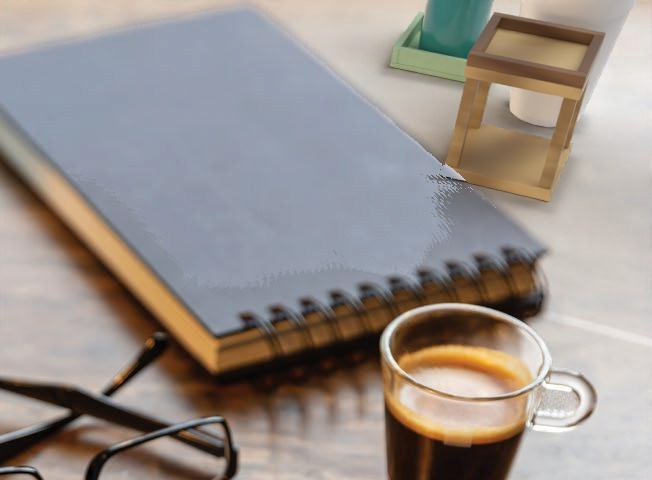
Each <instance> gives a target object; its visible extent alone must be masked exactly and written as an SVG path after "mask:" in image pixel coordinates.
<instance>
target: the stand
mask: <svg viewBox="0 0 652 480" xmlns="http://www.w3.org/2000/svg"><path fill="white" fill-rule="evenodd" d="M605 35H606V33H604V32H599V31H594V30H588V29H583V28H578V27H572V26H567V25H562V24H556V23H551V22H546V21H540V20H535V19H530V18H524V17H519V15H513V14H508V13H502V12H497V11H494V12H493V13H492V14H491V16H490V19H489V22H488V23H487V25H486V26H485V28H484V30H483V31H482V33H481V35H480V36H479V38H478V39H477V41H476V43H475V44H474V46H473V48H472V49H471V51H470V52H469V54H468V59H467V63H466V67H465V72H464V77H466V80H465V82H464V85H463V89H462V94H461V98H460V101H459V107H458V111H457V115H456V119H455V123H454V127H453V133H452V137H451V141H450V146H449V149H448V154H447V157H446V159H445V161H444V163H446V164H447V165H448V166H450V167H451V168H453V169H454V170H455V171H456V172H457V173H459V174H460V175H461V176H462V177H463V178H464V179H465V180H466V181H467V182H468V184H471V185H477V186H481V187H485V188H488V189H494V190H498V191H503V192H506V193H510V194H515V195H519V196H524V197H527V198H532V199H536V200H540V201H545V202H550V201H551V199H552V196H553V194H554V192H555V189H556V187H557V185H558V182H559V180H560V178H561V175H562V173H563V170H564V168H565V167H566V164H567V161H568V159H569V157H570V154H571V152H572V148H573V144H574V143H572V140H573V136H574V132H575V128H576V125H577V123H578V122H577V119H578V116H579V112H580V109H581V106H582V102H583V99H584V96H585V92H586V89H587V86H588V82H589V79H590V76H591V73H592V71H593V68H594V66H595V64H596V62H597V59H598V57H599V55H600V52H601V48H602V44H603V42H604V38H605ZM492 84H498V85H503V86H506V87H510V88H511V87H516V88H521V89H526V90H530V91H535V92H540V93H545V94H550V95H555V96H560V97H564V98H563V101H562V105H561V108H560V112H559V115H558V119H557V122H556V126H555V127H554V128H553V129H554V130H553V133H552V136H551V138H549V137H544V136H540V135H537V134H536V135H535V134H531V133H527V132H523V131H522V132H521V131H517V130H513V129H508V128H503V127H499V126H496V125H495V126H494V125H489V124H486V123H483V120H484V115H485V111H486V107H487V104H488V99H489V95H490V91H491V88H492V87H491V86H492ZM467 182H466V183H467Z"/></svg>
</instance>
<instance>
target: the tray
mask: <svg viewBox="0 0 652 480" xmlns="http://www.w3.org/2000/svg"><path fill="white" fill-rule="evenodd" d="M424 13H425V12H421V11H418V13H417V14H415V15H416V16H415V17H414V18H413V20H412V21H411V22H410V24H409V25H408V27H407V28H406V30H405V31H404V32H403V33H402V34H401V36H400V38H399V39H398V41H397V42H396V43H395V44H394V46H393V48H392V53H391V58H390V64H389V67H391V68H394V69H399V70H405V71H408V72H409V71H410V72H414V73H419V74H424V75H427V76H428V75H429V76H433V77H438V78H442V79H447V80H452V81H457V82H462V83H465V80H466V77H464V72H465V67H466V63H467V59H462V58H457V57H452V56H447V55H442V54H437V53H433V52H428V51H423V50H418V49H417V48H418V43H419V38H420V33H421V28H422V23H423V18H424Z"/></svg>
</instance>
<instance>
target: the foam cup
mask: <svg viewBox="0 0 652 480" xmlns="http://www.w3.org/2000/svg"><path fill="white" fill-rule="evenodd" d="M637 1H638V0H520V4H519V5H520V6H519V13H518V16H519V17H524V18H530V19H535V20H540V21H546V22H551V23H556V24H562V25H567V26H572V27H578V28H583V29H588V30H594V31H599V32H604V33H606V35H605V38H604V42H603V44H602V48H601V52H600V55H599V57H598V59H597V62H596V64H595V66H594V68H593V71H592V73H591V76H590V79H589V82H588V86H587V89H586V92H585V96H584V99H583V102H582V106H581V109H580V112H579V116H578V119H577V123H578V122H579V121H580V120H581V119H582V117H583V113H584V112H585V111H586V109H587V107H588V104H589V102H590V100H591V97H592V96H593V93H594V91H595V89H596V87H597V85H598V83H599V80H600V78H601V75H602V74H603V71H604V69H605V68H606V65H607V63H608V61H609V59H610V56H611V54H612V52H613V49H614V48H615V45H616V43H617V41H618V38H619V36H620V34H621V32H622V31H623V27H624V26H625V24H626V22H627V19H628V17H629V14H630V12H631V11H632V10H633V9H635V7H636V4H637ZM509 93H510V94H509V103H508V105H509V112H510V113H511V114H513V115H514V116H515V118H517V119H518V120H521V121H523V122H525V123H527V124H530V125H532V126H540V127H544V128H555V126H556V122H557V119H558V115H559V112H560V108H561V105H562V101H563V98H564V97H560V96H555V95H550V94H545V93H540V92H535V91H530V90H526V89H521V88H516V87H511V86H510V92H509Z"/></svg>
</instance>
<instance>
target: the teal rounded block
mask: <svg viewBox="0 0 652 480" xmlns="http://www.w3.org/2000/svg"><path fill="white" fill-rule="evenodd" d="M494 2H495V0H426V4H425V7H424V8H425V9H424V12H423V13H424V18H423V23H422V28H421V33H420V38H419V43H418V48H417V49H418V50H423V51H428V52H433V53H437V54H442V55H447V56H452V57H457V58H462V59H468V54H469V52H470V51H471V49H472V48H473V46H474V44H475V43H476V41H477V39H478V38H479V36H480V35H481V33H482V31H483V30H484V28H485V26H486V25H487V23H488V22H489V20H490V18H491V16H492V10H493V6H494Z"/></svg>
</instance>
